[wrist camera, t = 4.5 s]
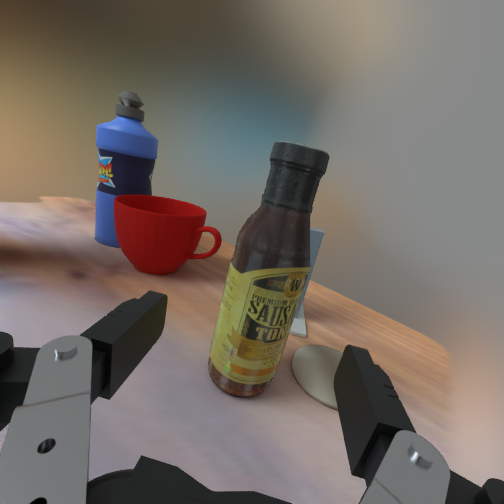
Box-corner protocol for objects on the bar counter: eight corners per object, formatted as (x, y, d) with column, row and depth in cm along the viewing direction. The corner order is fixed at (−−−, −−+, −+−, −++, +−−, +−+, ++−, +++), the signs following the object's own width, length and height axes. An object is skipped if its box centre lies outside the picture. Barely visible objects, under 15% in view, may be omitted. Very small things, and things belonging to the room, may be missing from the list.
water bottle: (137, 231, 55) (146, 102, 47) (157, 246, 49) (172, 102, 42) (87, 232, 48) (89, 82, 40) (104, 250, 42) (110, 79, 35)
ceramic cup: (185, 305, 32) (196, 229, 29) (90, 262, 37) (91, 194, 34) (231, 275, 44) (243, 218, 41) (154, 246, 49) (159, 194, 46)
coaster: (323, 421, 21) (325, 416, 20) (278, 351, 27) (279, 347, 27) (390, 403, 24) (392, 399, 24) (335, 345, 31) (336, 342, 31)
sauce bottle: (227, 414, 19) (295, 134, 13) (195, 358, 24) (234, 132, 18) (289, 386, 23) (363, 159, 17) (251, 342, 28) (299, 152, 22)
